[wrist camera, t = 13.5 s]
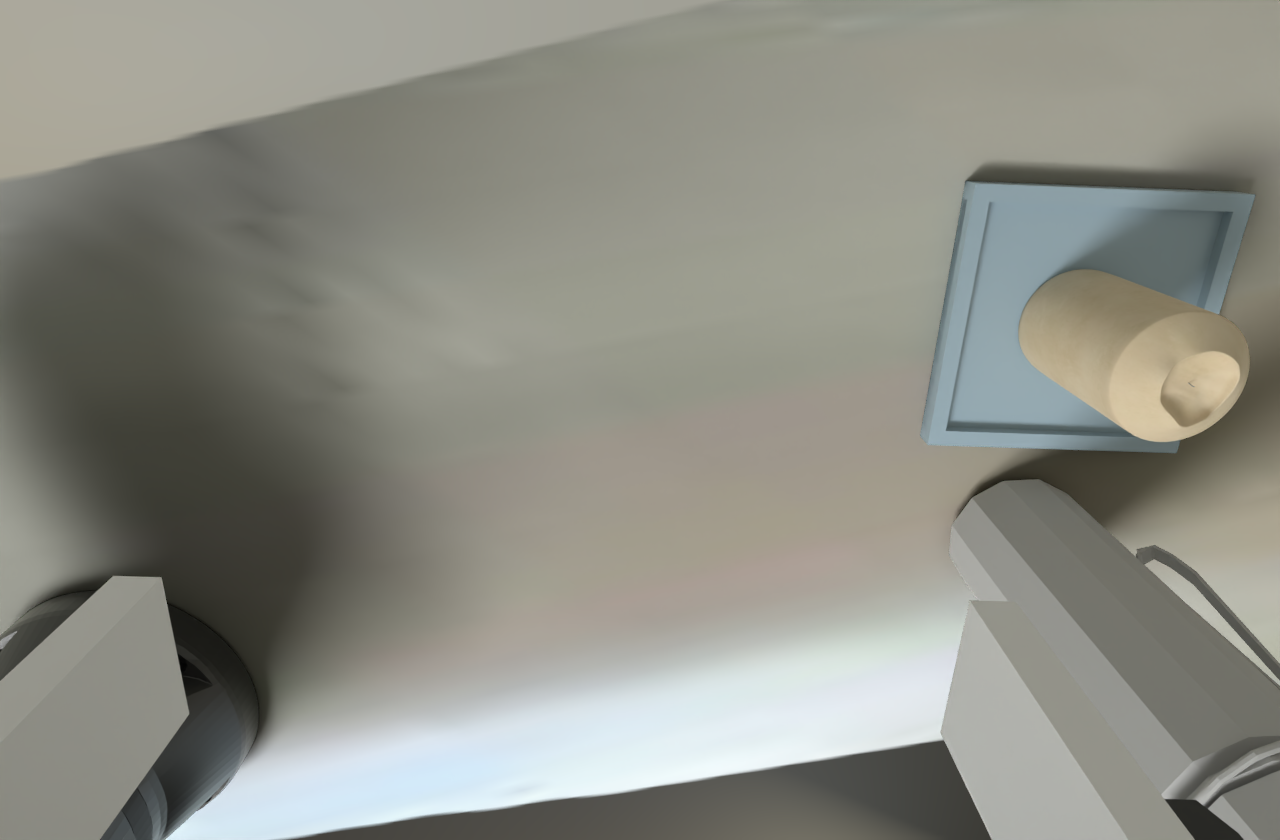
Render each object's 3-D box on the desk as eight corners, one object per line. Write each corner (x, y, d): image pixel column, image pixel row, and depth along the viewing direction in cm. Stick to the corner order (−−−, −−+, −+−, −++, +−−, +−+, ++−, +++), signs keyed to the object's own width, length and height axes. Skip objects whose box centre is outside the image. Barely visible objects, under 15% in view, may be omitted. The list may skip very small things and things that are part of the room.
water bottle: (954, 604, 47) (1264, 1096, 24) (929, 488, 45) (1252, 918, 21) (1116, 561, 46) (1600, 1031, 23) (1101, 439, 44) (1634, 834, 20)
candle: (1091, 390, 42) (1222, 474, 33) (995, 355, 41) (1101, 431, 32) (1151, 289, 40) (1307, 348, 31) (1052, 251, 39) (1182, 299, 30)
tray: (920, 435, 43) (927, 444, 42) (965, 180, 39) (975, 183, 38) (1162, 443, 44) (1176, 453, 43) (1237, 191, 39) (1255, 194, 38)
